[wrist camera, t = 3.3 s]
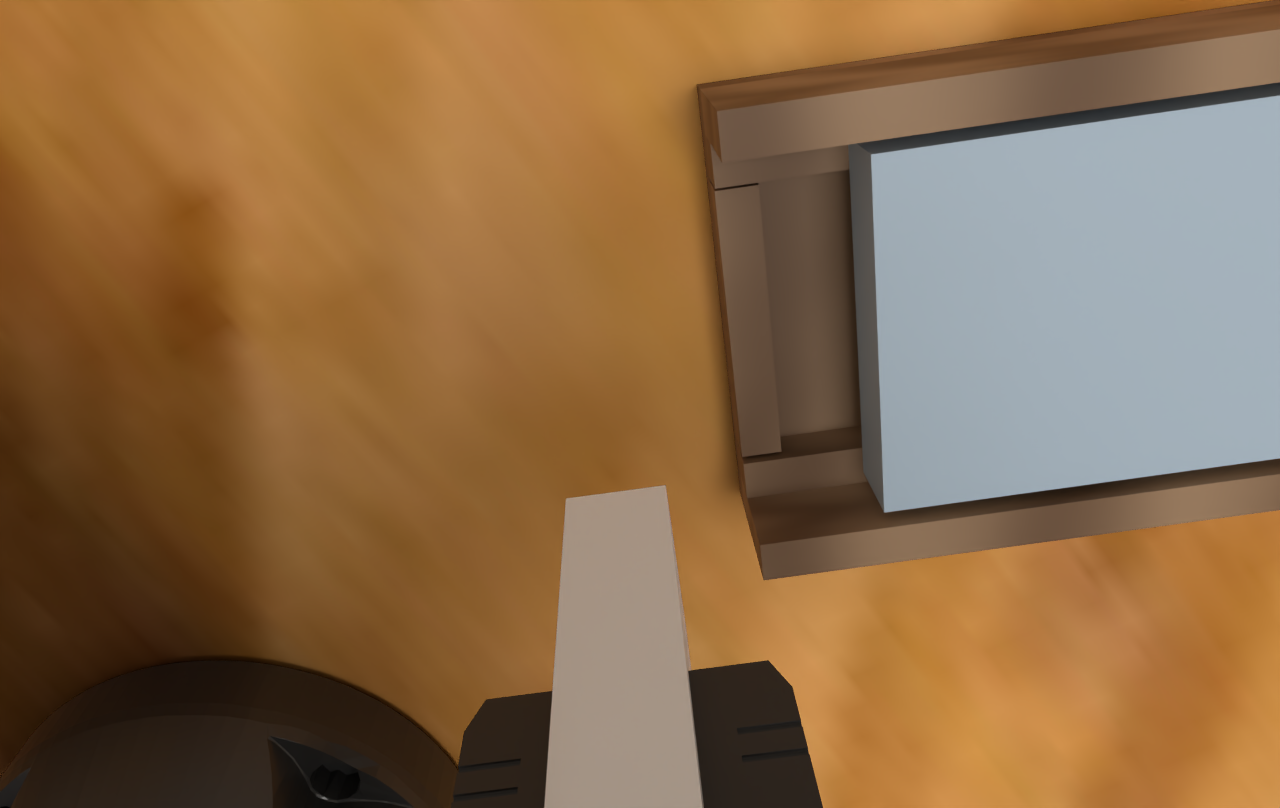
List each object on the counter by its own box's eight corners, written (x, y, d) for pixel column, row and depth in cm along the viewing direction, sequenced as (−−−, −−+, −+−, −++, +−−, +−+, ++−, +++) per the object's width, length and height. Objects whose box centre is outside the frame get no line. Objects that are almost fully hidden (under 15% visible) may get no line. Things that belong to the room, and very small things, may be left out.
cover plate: (863, 472, 25) (884, 512, 23) (848, 137, 22) (870, 154, 20) (1258, 417, 25) (1310, 454, 23) (1307, 70, 21) (1373, 81, 20)
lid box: (740, 493, 28) (763, 580, 24) (696, 84, 23) (717, 111, 19) (1244, 423, 27) (1349, 500, 23) (1301, -4, 23) (1444, 5, 19)
